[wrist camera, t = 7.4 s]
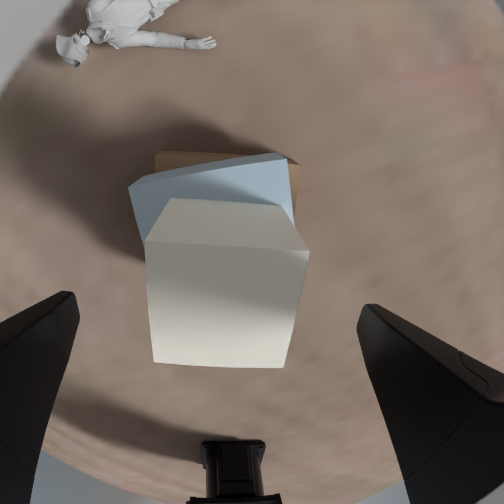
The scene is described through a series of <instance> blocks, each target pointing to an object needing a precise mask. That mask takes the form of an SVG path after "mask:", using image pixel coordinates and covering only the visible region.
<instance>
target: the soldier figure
mask: <svg viewBox="0 0 504 504" xmlns="http://www.w3.org/2000/svg"><path fill="white" fill-rule="evenodd" d="M178 1H179V0H89V3H88V5H87V8H86V9H85V10H86V14H87V19H88V20H89V26H88V28H87V30H86V33H87V35H88V36H89V37H90V38H91V39H92V41H93V42H94V43H97V44H100V43H103V42H107V43H108V44H109V45H111V46H113V47H114V48H116V49H119V48H126V47H134V46H136V47H140V46H151V47H162V48H177V49H185V48H188V49H199V50H203V49H210V48H213V47H215V46H216V45H215V44H216V43H212V42H214V41H215V40H211V41H207V42H203V41H206V40H209V39H211V38H212V37H207V38H204V39H191V40H187V39H186V38H185V37H182V36H176V35H171V34H167V33H163V32H155V31H146V30H139V29H138V28H139V27H140V26H141V25H143V24H144V23H145V22H147V24H148V23H150V22H152V21H153V20H155V19H157V18H159V17H160V16H161V15H163V14H164V11H165V9H166V8H167V7H169V6H171V5H173V4H175V3H177V2H178ZM81 33H82V29H81ZM83 33H84V35H83V36H82V37H81V38H80V33H79V36H78V35H77V32H76V33H75V34H73V35H72V36H71V37H64V36H60V35H57V36H56V49H57V52H58V53H59V55H61V57H62V59H63V60H64V62H65V63H66V64H68V65H71V66H75V65H76V66H75V67H74V68H75V69H77V68H79V67H80V65H81V64H82V63H83V62H84V61H85V60H86V59H87V55H88V53H89V50H88V48H87V46H86V45H88V44H89V42H90V39H89V37H88V36H86V35H85V32H84V30H83ZM209 43H211V44H209ZM205 44H207V45H205Z"/></svg>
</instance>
